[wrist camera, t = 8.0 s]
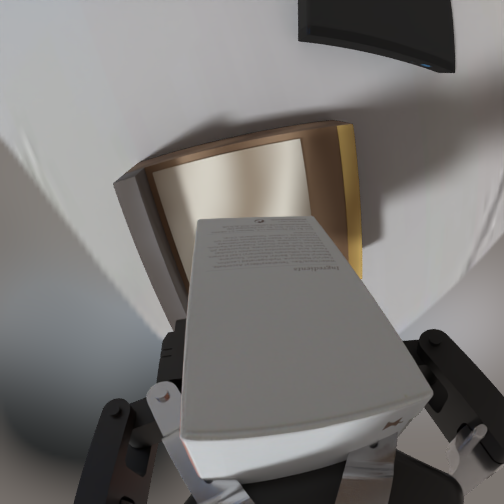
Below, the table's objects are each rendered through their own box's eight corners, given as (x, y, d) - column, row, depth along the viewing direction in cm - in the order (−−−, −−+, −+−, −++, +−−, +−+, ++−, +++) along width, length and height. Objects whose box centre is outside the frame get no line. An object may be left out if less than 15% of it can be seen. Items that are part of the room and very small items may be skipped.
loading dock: (332, 119, 22) (368, 127, 16) (345, 256, 28) (373, 294, 23) (138, 162, 22) (112, 183, 16) (184, 293, 28) (178, 340, 23)
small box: (196, 215, 14) (172, 436, 4) (315, 212, 14) (443, 391, 5) (207, 342, 17) (213, 515, 8) (299, 336, 18) (349, 496, 9)
